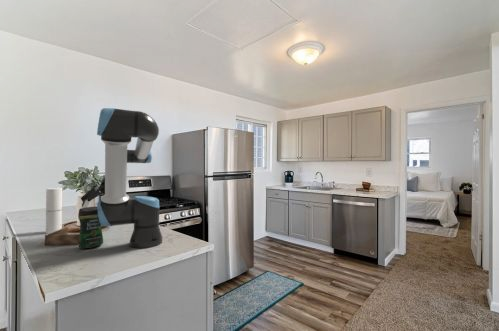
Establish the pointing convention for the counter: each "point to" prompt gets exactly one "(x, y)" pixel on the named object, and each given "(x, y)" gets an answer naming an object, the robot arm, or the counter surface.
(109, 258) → the counter surface
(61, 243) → the cradle
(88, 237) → the coffee jar
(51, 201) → the cylindrical container
